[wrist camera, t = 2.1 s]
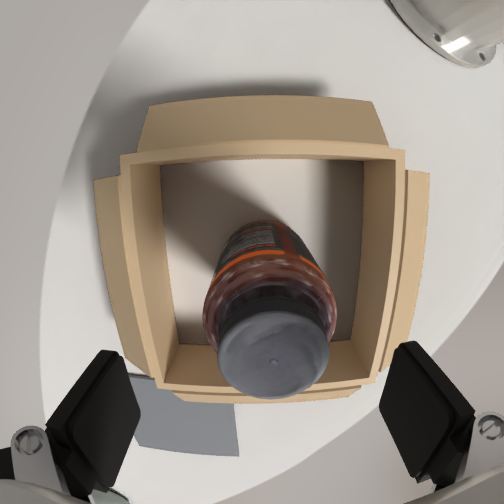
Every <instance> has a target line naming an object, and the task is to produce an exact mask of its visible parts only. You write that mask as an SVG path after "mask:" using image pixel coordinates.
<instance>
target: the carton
mask: <svg viewBox="0 0 504 504" xmlns="http://www.w3.org/2000/svg"><path fill="white" fill-rule="evenodd" d="M388 146H389V145H388V142H387V139H386V136H385V134H384V131H383V128H382V126H381V123H380V120H379V118H378V115H377V113H376V110H375V108H374V106H373V103H372V102H370V101H363V100H354V99H344V98H333V97H318V96H296V95H252V96H230V97H215V98H204V99H194V100H185V101H177V102H170V103H163V104H156V105H150V106H149V109H148V112H147V116H146V119H145V122H144V125H143V129H142V132H141V136H140V139H139V143H138V147H137V152H136V153H130V154H123V155H120V174H121V175H118V176H112V177H106V178H101V179H95V180H93V181H94V195H95V206H96V216H97V225H98V232H99V240H100V247H101V253H102V259H103V265H104V271H105V276H106V282H107V287H108V291H109V296H110V301H111V305H112V310H113V314H114V318H115V322H116V326H117V330H118V334H119V337H120V341H121V344H122V348H123V351H124V355H125V358H126V359H127V360H129V361H130V362H131V363H132V364H134V365H135V366H136V367H138V368H139V369H140V370H141V371H143V372H144V373H145V374H147V375H148V376H149V377H151V378H153V377H154V378H155V382H156V385H157V388H158V389H168V390H172V393H173V394H175V395H176V396H178V397H179V398H181V399H182V400H183V401H189V402H205V403H233V404H260V403H288V402H304V401H316V400H326V399H335V398H343V397H349V396H350V395H351V394H353V393H354V392H356V391H357V390H359V389H360V388H361V385H364V384H371V383H375V382H376V378H377V375H378V371H379V372H382V371H383V370H384V369H385V368H386V367H387V366H389V365H390V364H391V361H392V357H393V353H394V350H395V348H398V346H399V344H400V343H404V342H407V340H408V336H409V332H410V328H411V324H412V320H413V315H414V311H415V306H416V301H417V296H418V290H419V285H420V279H421V272H422V266H423V259H424V251H425V242H426V232H427V221H428V206H429V179H430V173H426V172H419V171H413V170H405V150H403V149H394V148H388ZM243 159H330V160H352V161H364V197H363V225H362V243H361V257H360V268H359V279H358V288H357V297H356V305H355V313H354V320H353V327H352V334H351V340H345V341H333V342H329V348H330V357H329V361H328V364H327V367H326V369H325V371H324V372H323V374H322V376H321V377H320V378H319V379H318V381H316V382H315V383H314V384H313V385H312V386H311V387H310V388H307V389H306V390H304V391H302V392H300V393H298V394H296V395H294V396H290V397H287V398H282V399H271V400H269V399H259V398H255V397H251V396H248V395H246V394H243V393H241V392H239V391H238V390H236V389H235V388H233V387H232V386H231V385H230V384H229V383H228V382H227V381H226V380H225V379H224V377H223V376H222V374H221V372H220V370H219V366H218V362H217V353H216V352H215V351H214V350H213V348H212V347H211V345H188V344H180V343H179V337H178V332H177V326H176V320H175V313H174V307H173V300H172V293H171V286H170V278H169V270H168V262H167V253H166V243H165V233H164V222H163V209H162V195H161V178H160V165H168V164H179V163H190V162H204V161H221V160H243Z"/></svg>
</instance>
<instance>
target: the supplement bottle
mask: <svg viewBox="0 0 504 504" xmlns="http://www.w3.org/2000/svg"><path fill="white" fill-rule="evenodd" d="M336 319H337V308H336V301H335V297H334V295H333V291H332V289H331V287H330V285H329V283H328V281H327V280H326V278H325V276H324V274H323V272H322V271H321V269H320V268H319V266H318V264H317V263H316V261H315V260H314V258H313V256H312V255H311V253H310V252H309V250H308V248H307V247H306V245H305V244H304V242H303V241H302V239H301V238H300V237H299V236H298V235H297V234H296V233H295V232H294V231H293V230H291V229H290V228H289V227H287V226H285V225H283V224H281V223H278V222H274V221H266V220H265V221H257V222H252V223H249V224H247V225H245V226H243V227H241V228H240V229H238V230H237V231H236V232H235V233H234V234H233V235H232V236H231V237H230V239H229V240H228V241H227V243H226V245H225V247H224V249H223V252H222V254H221V257H220V259H219V262H218V265H217V268H216V270H215V273H214V275H213V278H212V281H211V284H210V287H209V290H208V293H207V295H206V299H205V302H204V307H203V326H204V330H205V334H206V336H207V339H208V341H209V343H210V345H211V347H212V348H213V350H214V351H215V352H216V353H217V362H218V366H219V370H220V372H221V374H222V376H223V377H224V379H225V380H226V381H227V382H228V383H229V384H230V385H231V386H232V387H233V388H235V389H236V390H238V391H239V392H241V393H243V394H246V395H248V396H251V397H255V398H259V399H269V400H271V399H282V398H287V397H290V396H294V395H296V394H298V393H300V392H302V391H304V390H306V389H307V388H310V387H311V386H312V385H313V384H314V383H315V382H316V381H318V379H319V378H320V377H321V376H322V374H323V372H324V371H325V369H326V367H327V364H328V361H329V357H330V348H329V341H330V340H331V337H332V335H333V333H334V331H335V326H336Z"/></svg>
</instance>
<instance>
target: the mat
mask: <svg viewBox="0 0 504 504" xmlns="http://www.w3.org/2000/svg"><path fill="white" fill-rule="evenodd" d="M128 375H129V378H130V381H131V385H132V388H133V390H134V393H135V396H136V399H137V402H138V405H139V407H140V411H141V417H140V420H139V423H138V425H137V428H136V430H135V433H134V436H135V438H136V440H137V442H138V444H139V446H143V447H148V448H154V449H160V450H167V451H174V452H182V453H191V454H202V455H216V456H239V449H238V440H237V432H236V423H235V413H234V404H233V403H205V402H189V401H183V400H182V399H181V398H179V397H178V396H176V395H175V394H173V393H172V390H168V389H158V388H157V385H156V382H155V378H154V377H153V378H151V377H146V376H137V375H130V374H128Z"/></svg>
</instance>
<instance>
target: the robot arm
mask: <svg viewBox="0 0 504 504" xmlns="http://www.w3.org/2000/svg"><path fill="white" fill-rule="evenodd" d="M390 1H391V3H392V4H393V6H394V7H395V9H396V11H397V12H398V14H399V15H400V16H401V17H402V19H403V20H404V21H405V23H406V24H407V25H408V26H409V27H410V28H411V29H412V30H413V31H414V32H415V34H417V35H418V36H419V37H420V38H421V39H422V40H423V41H424V42H425V43H426V44H427V45H429V46H430V47H431V48H433V49H434V50H435V51H436V52H438V53H439V54H441V55H442V56H444V57H445V58H447V59H448V60H450V61H452V62H454V63H456V64H459V65H462V66H465V67H469V68H477V67H481V66H484V65H486V64H489V63H490V62H491V61H492V60H493V59H494V56H495V53H496V45H497V44H500V43H503V44H504V0H390ZM379 409H380V412H381V414H382V417H383V419H384V421H385V423H386V425H387V427H388V429H389V431H390V433H391V435H392V437H393V439H394V442H395V444H396V446H397V448H398V450H399V453H400V455H401V457H402V459H403V461H404V463H405V466H406V468H407V470H408V472H409V474H410V476H411V477H413V478H414V477H415V479H416V481H417V483H420V482H423V481H425V480H428V479H432V481H433V485H432V488H431V491H430V493H429V494H428V495H426V496H423V497H421V498H418V499H415V500H413V501H410V502H407V503H404V504H504V416H502V415H500V414H499V413H496V412H484V413H482V414H480V415H479V416H478V417H477V418H476V417H475V416H474V413H475V410H474V409H473V407H472V406H471V405H470V404H469V402H468V401H467V400H466V399H465V398H464V396H463V395H462V394H461V393H460V391H459V390H458V389H457V388H456V387H455V385H454V384H453V383H452V382H451V381H450V379H449V378H448V377H447V376H446V375H445V373H444V372H443V371H442V370H441V369H440V368H439V367H438V365H437V364H436V363H435V362H434V361H433V359H432V358H431V357H430V356H429V355H428V354H427V353H426V352H425V350H424V349H423V348H422V347H421V346H420V345H419V344H418V343H417V342H416V341H409V342H404V343H400V344H399V346H398V348H395V350H394V353H393V357H392V361H391V365H390V369H389V372H388V376H387V379H386V383H385V386H384V390H383V393H382V396H381V399H380V403H379ZM140 417H141V411H140V407H139V405H138V402H137V399H136V396H135V393H134V390H133V388H132V385H131V381H130V378H129V375H128V372H127V369H126V366H125V362H124V359H123V357H122V356H119V354H118V352H116V351H109V350H101V351H100V352H99V353H98V354H97V355H96V357H95V358H94V359H93V361H92V362H91V363H90V364H89V366H88V367H87V368H86V370H85V371H84V372H83V374H82V375H81V376H80V378H79V379H78V380H77V382H76V383H75V384H74V386H73V387H72V388H71V390H70V391H69V392H68V394H67V395H66V396H65V398H64V399H63V400H62V402H61V403H60V405H59V406H58V407H57V409H56V410H55V412H54V413H53V414H52V416H51V417H50V419H49V420H48V421H47V423H46V424H45V425H46V427H47V428H46V430H45V431H44V430H43V429H41V428H39V427H36V426H26V427H23V428H21V429H19V430H18V431H17V432H16V433H15V434H14V435H13V437H12V440H11V447H8V448H5V449H0V504H95V502H94V500H93V497H92V495H91V493H92V491H93V489H95V490H98V491H101V492H104V493H107V491H108V489H109V487H113V485H114V484H115V481H116V478H117V476H118V473H119V471H120V468H121V465H122V463H123V460H124V458H125V455H126V453H127V450H128V448H129V445H130V443H131V440H132V438H133V435H134V433H135V430H136V428H137V425H138V423H139V420H140Z"/></svg>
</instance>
